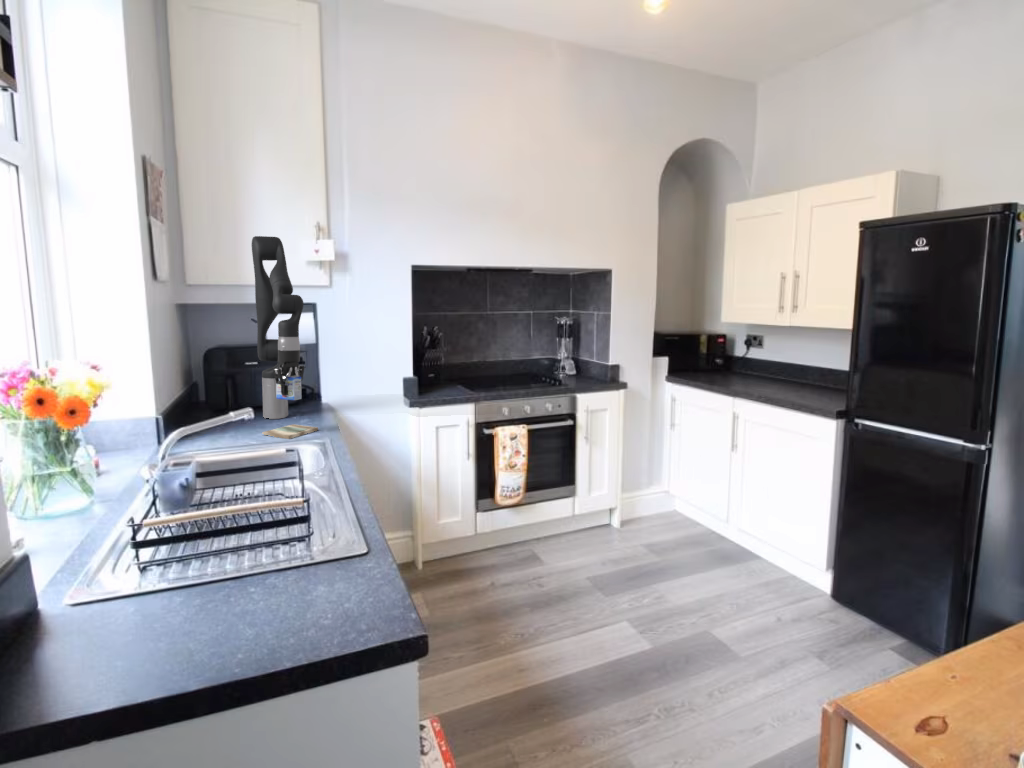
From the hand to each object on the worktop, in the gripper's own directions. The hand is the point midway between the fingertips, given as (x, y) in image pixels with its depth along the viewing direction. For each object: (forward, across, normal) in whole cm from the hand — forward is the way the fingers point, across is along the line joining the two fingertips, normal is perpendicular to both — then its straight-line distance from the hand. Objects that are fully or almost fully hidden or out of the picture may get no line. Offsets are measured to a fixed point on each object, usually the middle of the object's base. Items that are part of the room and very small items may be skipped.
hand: (289, 394), depth 207 cm
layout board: (+15, 0, 0) cm, 15 cm away
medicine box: (+2, 0, 0) cm, 2 cm away
